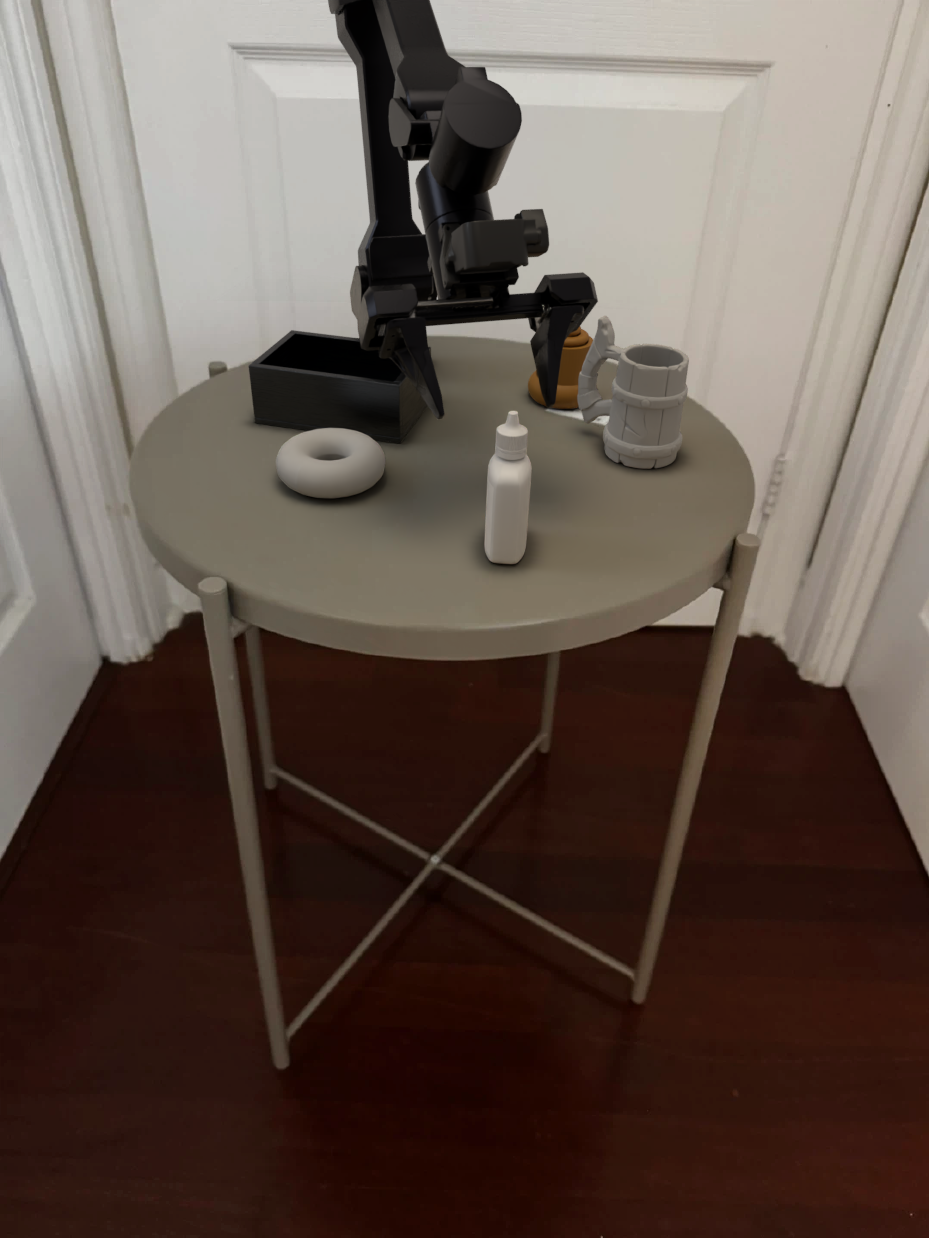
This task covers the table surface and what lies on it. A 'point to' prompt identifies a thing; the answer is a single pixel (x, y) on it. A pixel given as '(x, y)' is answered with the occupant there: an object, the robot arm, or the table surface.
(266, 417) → the black open box
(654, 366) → the mug
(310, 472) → the donut
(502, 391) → the table surface
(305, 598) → the table surface
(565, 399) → the orange brown bell-shaped piece
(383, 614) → the table surface
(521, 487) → the eye dropper bottle
